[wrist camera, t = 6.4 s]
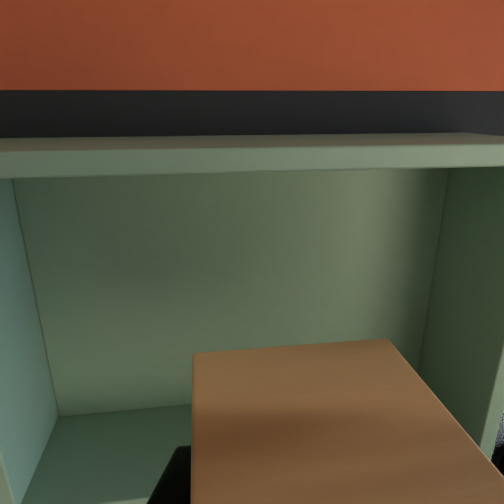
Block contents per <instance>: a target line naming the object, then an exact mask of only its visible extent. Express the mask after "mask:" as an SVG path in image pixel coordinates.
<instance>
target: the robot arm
mask: <svg viewBox="0 0 504 504" xmlns="http://www.w3.org/2000/svg"><path fill="white" fill-rule="evenodd" d="M492 463H493V464H494V466H495V467H496V468H497V469H498V470H499V472H500V473H501V474H502V475H503V476H504V445H503V446H501V447H499V448H498V449H497V450H496V451H495V453H494V457H493V461H492ZM146 504H191V445H183V446H178V447H177V448H176V449H175V451H174V453H173V454H172V456H171V458H170V460H169V462H168V464H167V466H166V468H165V469H164V471H163V473H162V475H161V477H160V479H159V481H158V483H157V484H156V486H155V488H154V490H153V492H152V494H151V496H150V498H149V500H148V501H147V503H146Z"/></svg>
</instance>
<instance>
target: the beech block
mask: <svg viewBox="0 0 504 504" xmlns="http://www.w3.org/2000/svg"><path fill="white" fill-rule="evenodd" d="M191 504H504V476H503V475H502V474H501V473H500V472H499V470H498V469H497V468H496V467H495V466H494V464H493V463H492V462H491V461H490V460H489V458H488V457H487V456H486V455H485V454H484V453H483V451H482V450H481V449H480V448H479V447H478V445H477V444H476V443H475V442H474V441H473V439H472V438H471V437H470V436H469V435H468V433H467V432H466V431H465V430H464V429H463V428H462V426H461V425H460V424H459V423H458V422H457V420H456V419H455V418H454V417H453V416H452V414H451V413H450V412H449V411H448V410H447V409H446V407H445V406H444V405H443V404H442V403H441V401H440V400H439V399H438V398H437V397H436V395H435V394H434V393H433V392H432V391H431V389H430V388H429V387H428V386H427V385H426V384H425V382H424V381H423V380H422V379H421V378H420V376H419V375H418V374H417V373H416V372H415V370H414V369H413V368H412V367H411V366H410V364H409V363H408V362H407V361H406V360H405V359H404V357H403V356H402V355H401V354H400V353H399V351H398V350H397V349H396V348H395V347H394V345H393V344H392V343H391V342H390V341H389V339H386V338H384V339H370V340H357V341H344V342H331V343H318V344H305V345H291V346H278V347H265V348H252V349H239V350H226V351H212V352H199V353H193V355H192V409H191Z"/></svg>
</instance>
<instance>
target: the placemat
mask: <svg viewBox="0 0 504 504" xmlns="http://www.w3.org/2000/svg"><path fill="white" fill-rule="evenodd" d="M383 133H475V134H485V135H496V136H504V0H0V138H56V137H138V136H220V135H302V134H383Z"/></svg>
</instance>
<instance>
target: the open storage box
mask: <svg viewBox="0 0 504 504" xmlns="http://www.w3.org/2000/svg"><path fill="white" fill-rule="evenodd" d="M384 338H386V339H389V341H390V342H391V343H392V344H393V345H394V347H395V348H396V349H397V350H398V351H399V353H400V354H401V355H402V356H403V357H404V359H405V360H406V361H407V362H408V363H409V364H410V366H411V367H412V368H413V369H414V370H415V372H416V373H417V374H418V375H419V376H420V378H421V379H422V380H423V381H424V382H425V384H426V385H427V386H428V387H429V388H430V389H431V391H432V392H433V393H434V394H435V395H436V397H437V398H438V399H439V400H440V401H441V403H442V404H443V405H444V406H445V407H446V409H447V410H448V411H449V412H450V413H451V414H452V416H453V417H454V418H455V419H456V420H457V422H458V423H459V424H460V425H461V426H462V428H463V429H464V430H465V431H466V432H467V433H468V435H469V436H470V437H471V438H472V439H473V441H474V442H475V443H476V444H477V445H478V447H479V448H480V449H481V450H482V451H483V453H484V454H485V455H486V456H487V457H488V458H489V460H490V461H491V455H492V454H493V450H494V446H495V442H496V438H497V434H498V430H499V426H500V422H501V418H502V414H503V410H504V136H496V135H485V134H475V133H383V134H302V135H220V136H138V137H56V138H0V504H146V503H147V501H148V500H149V498H150V496H151V494H152V492H153V490H154V488H155V486H156V484H157V483H158V481H159V479H160V477H161V475H162V473H163V471H164V469H165V468H166V466H167V464H168V462H169V460H170V458H171V456H172V454H173V453H174V451H175V449H176V448H177V447H178V446H183V445H191V409H192V355H193V353H199V352H212V351H226V350H239V349H252V348H265V347H278V346H291V345H305V344H318V343H331V342H344V341H357V340H370V339H384Z"/></svg>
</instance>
